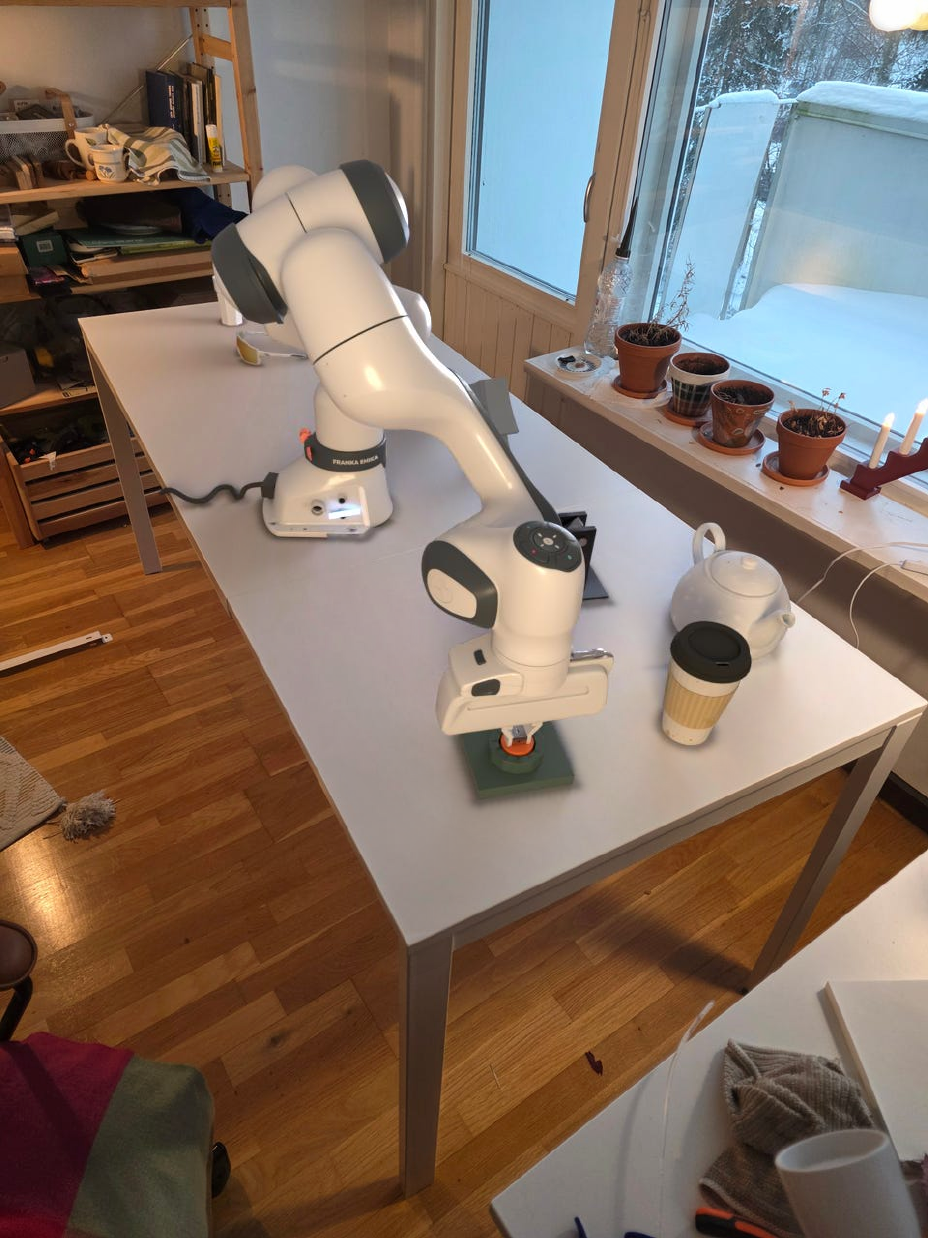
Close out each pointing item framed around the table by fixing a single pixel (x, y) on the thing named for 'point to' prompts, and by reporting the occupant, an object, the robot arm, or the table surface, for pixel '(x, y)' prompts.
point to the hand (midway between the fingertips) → (516, 741)
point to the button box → (515, 763)
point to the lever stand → (585, 553)
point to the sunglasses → (255, 349)
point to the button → (517, 748)
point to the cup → (227, 308)
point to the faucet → (497, 404)
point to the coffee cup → (702, 679)
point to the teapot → (733, 594)
